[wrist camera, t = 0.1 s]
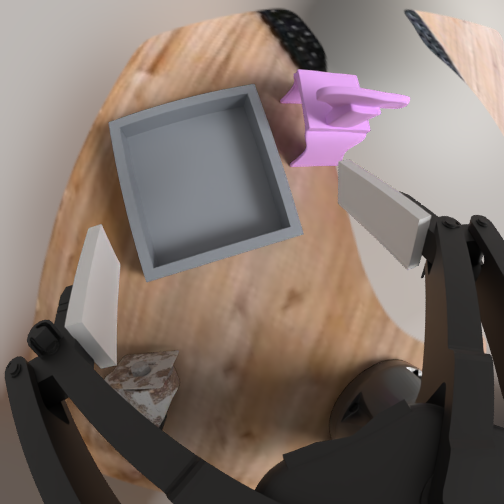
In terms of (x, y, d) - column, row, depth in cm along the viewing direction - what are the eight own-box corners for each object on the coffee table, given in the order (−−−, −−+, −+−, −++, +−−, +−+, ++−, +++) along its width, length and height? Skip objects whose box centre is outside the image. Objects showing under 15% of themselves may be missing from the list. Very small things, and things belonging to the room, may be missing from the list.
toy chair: (335, 99, 33) (400, 32, 18) (348, 165, 33) (431, 120, 18) (270, 96, 31) (311, 13, 16) (280, 167, 32) (338, 108, 17)
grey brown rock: (123, 417, 31) (91, 352, 30) (205, 415, 31) (178, 344, 29) (105, 451, 25) (63, 383, 23) (196, 456, 24) (159, 382, 22)
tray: (291, 235, 32) (303, 234, 28) (153, 278, 30) (146, 282, 26) (248, 101, 31) (254, 83, 27) (118, 136, 29) (108, 122, 25)
